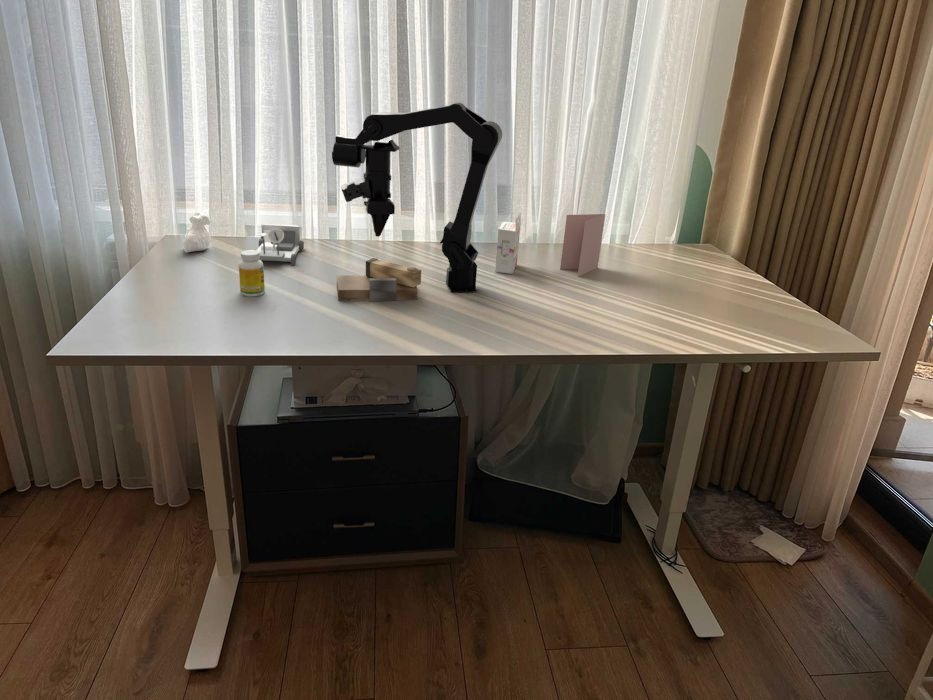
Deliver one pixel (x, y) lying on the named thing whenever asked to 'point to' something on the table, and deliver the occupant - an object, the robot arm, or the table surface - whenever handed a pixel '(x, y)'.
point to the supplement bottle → (251, 274)
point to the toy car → (280, 243)
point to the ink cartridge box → (508, 246)
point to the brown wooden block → (373, 289)
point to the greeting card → (582, 242)
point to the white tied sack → (197, 233)
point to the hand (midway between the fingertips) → (377, 234)
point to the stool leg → (393, 272)
